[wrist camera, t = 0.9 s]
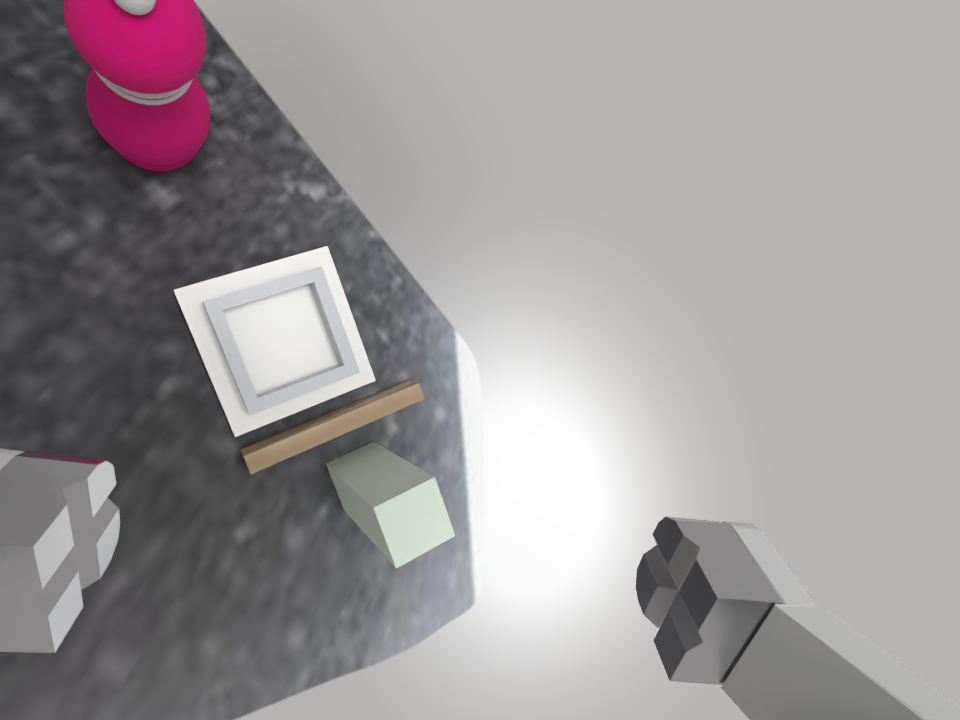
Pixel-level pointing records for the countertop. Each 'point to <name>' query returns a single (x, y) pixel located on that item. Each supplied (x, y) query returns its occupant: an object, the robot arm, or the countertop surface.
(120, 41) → the pepper mill
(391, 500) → the sage bar
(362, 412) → the oak board
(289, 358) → the grey keeper socket
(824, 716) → the robot arm
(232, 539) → the countertop surface
